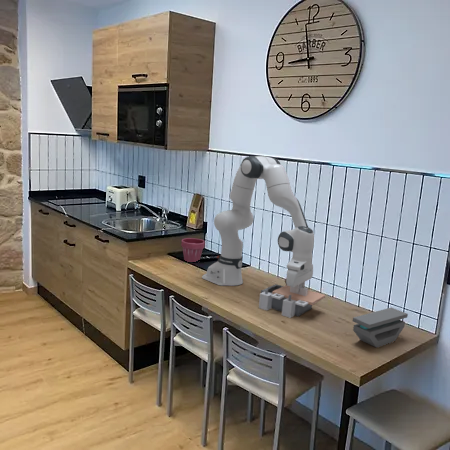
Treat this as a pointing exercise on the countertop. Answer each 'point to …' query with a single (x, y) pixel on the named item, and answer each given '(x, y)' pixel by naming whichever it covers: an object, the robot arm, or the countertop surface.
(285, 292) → the door
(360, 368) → the countertop surface
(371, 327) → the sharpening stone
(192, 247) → the plant pot
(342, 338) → the countertop surface
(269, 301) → the cabinet
